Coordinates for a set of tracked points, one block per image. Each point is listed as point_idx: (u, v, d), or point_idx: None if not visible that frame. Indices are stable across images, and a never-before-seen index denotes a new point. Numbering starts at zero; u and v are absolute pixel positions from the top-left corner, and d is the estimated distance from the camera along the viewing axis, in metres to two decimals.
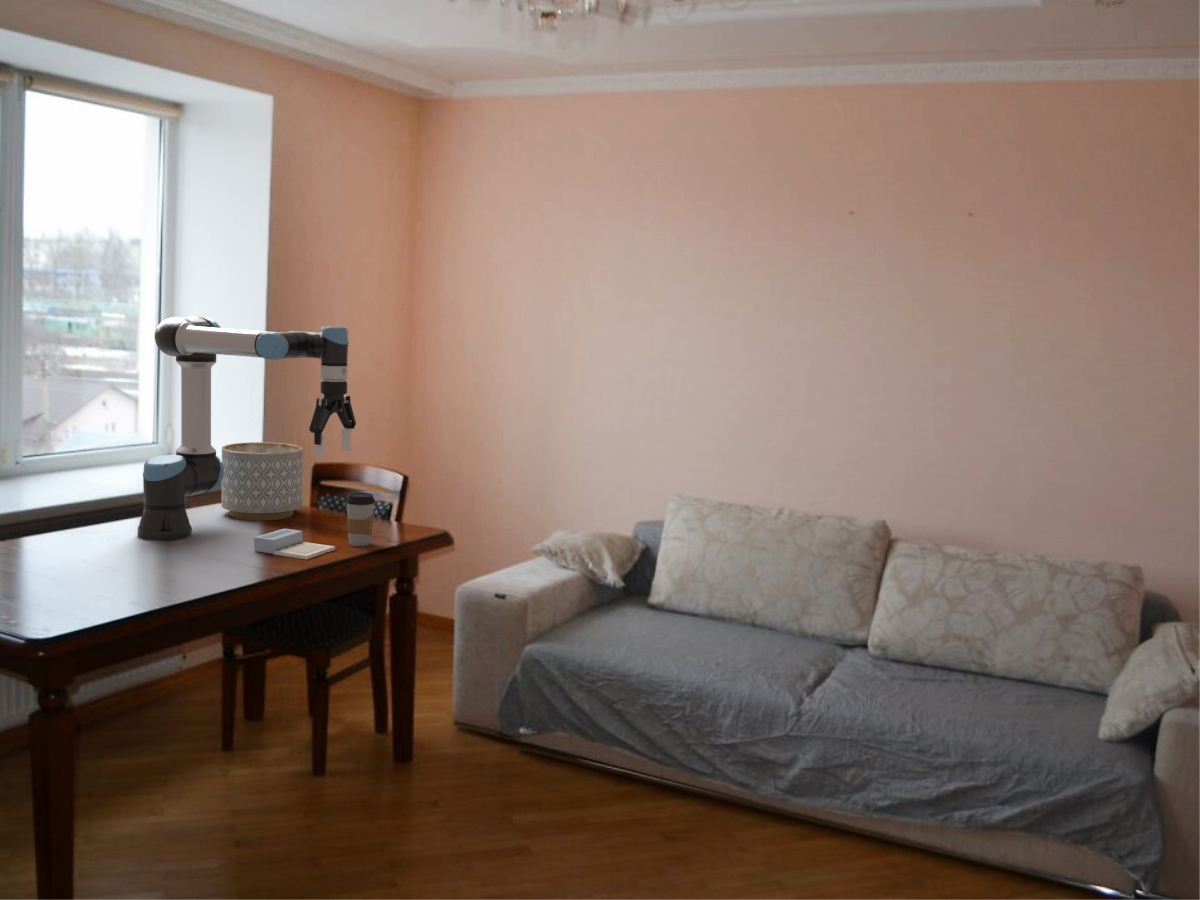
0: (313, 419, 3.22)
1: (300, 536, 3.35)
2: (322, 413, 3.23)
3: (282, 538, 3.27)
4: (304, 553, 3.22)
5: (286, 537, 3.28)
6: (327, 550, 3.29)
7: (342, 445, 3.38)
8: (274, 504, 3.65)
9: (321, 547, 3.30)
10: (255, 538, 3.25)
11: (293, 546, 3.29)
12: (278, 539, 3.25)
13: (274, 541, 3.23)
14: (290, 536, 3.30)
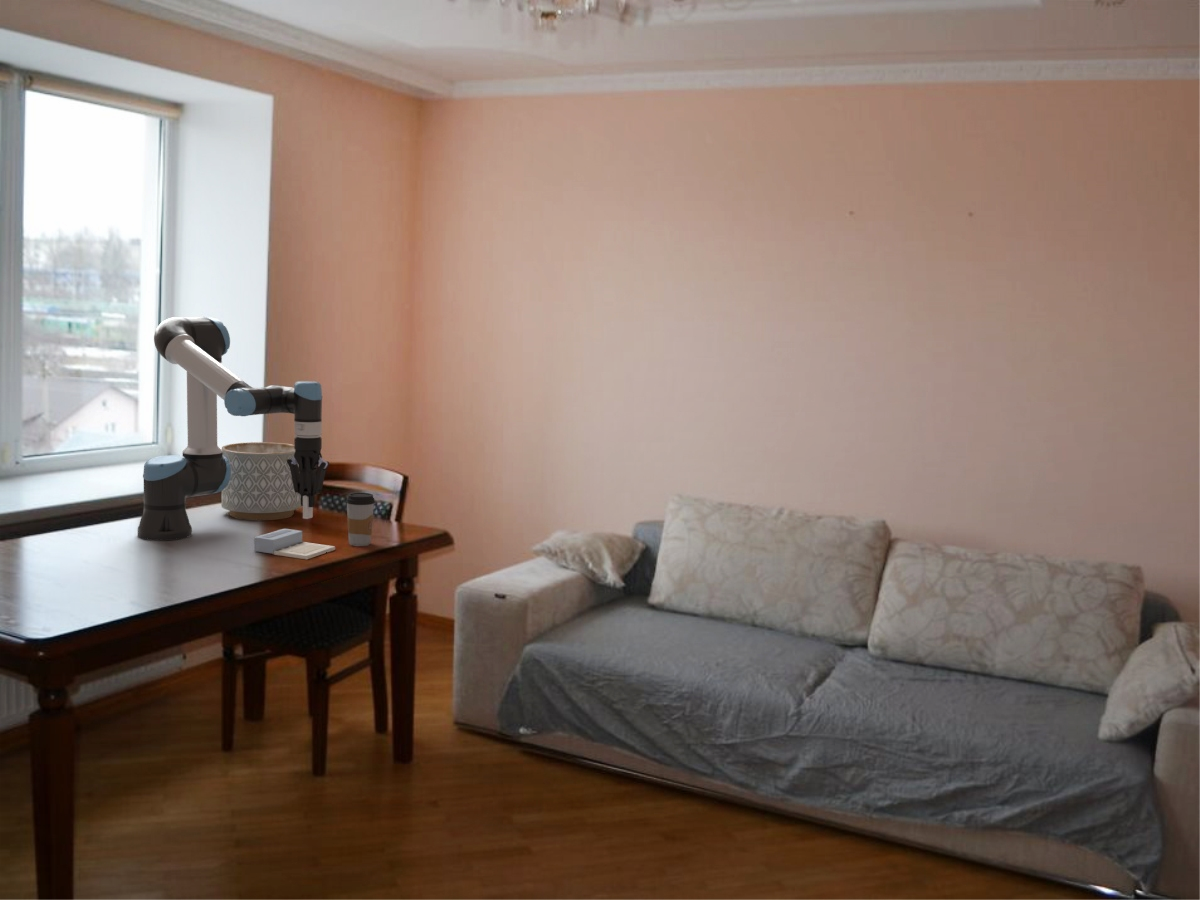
0: None
1: (300, 536, 3.35)
2: (292, 473, 3.25)
3: (282, 538, 3.27)
4: (304, 553, 3.22)
5: (286, 537, 3.28)
6: (327, 550, 3.29)
7: None
8: (274, 504, 3.65)
9: (321, 547, 3.30)
10: (255, 538, 3.25)
11: (293, 546, 3.29)
12: (278, 539, 3.25)
13: (274, 541, 3.23)
14: (290, 536, 3.30)
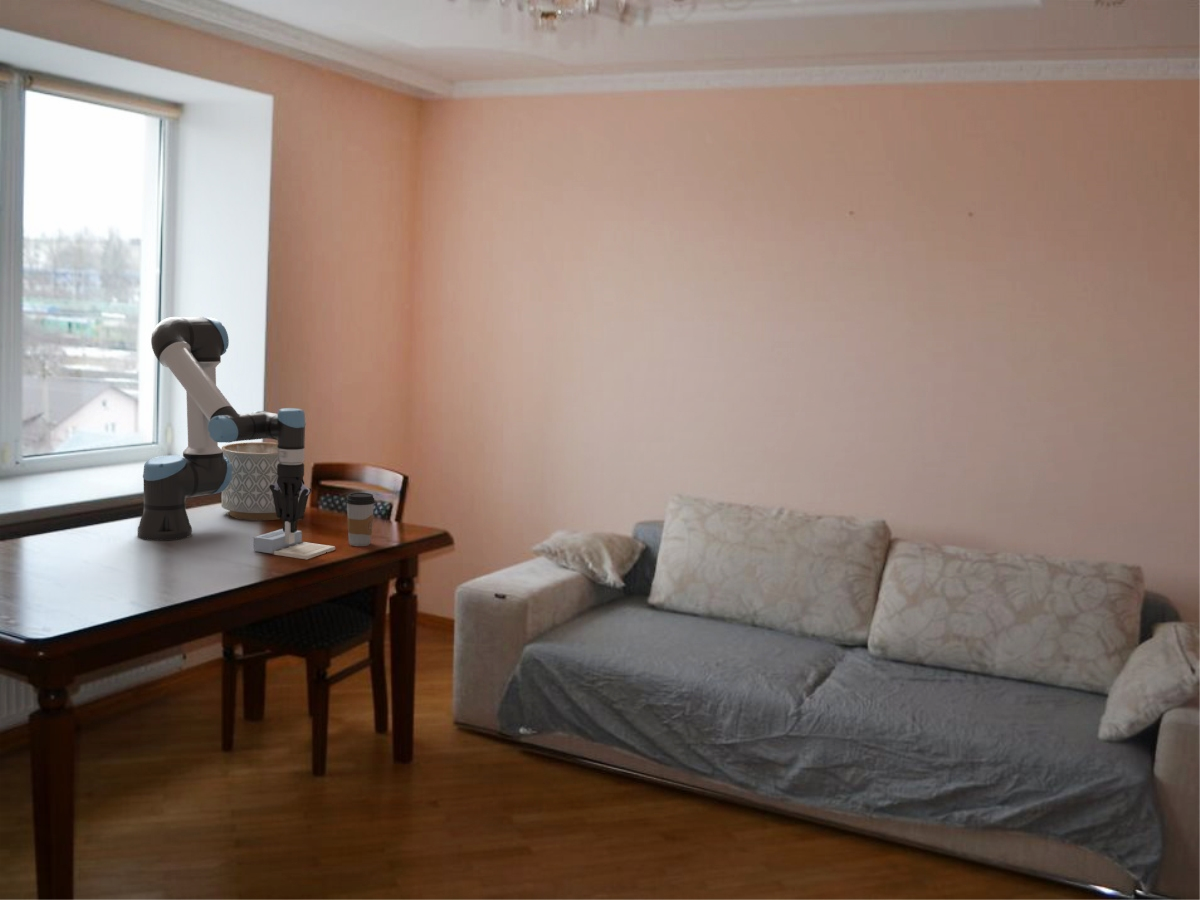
0: None
1: (299, 536, 3.35)
2: (275, 499, 3.28)
3: (281, 538, 3.27)
4: (304, 553, 3.22)
5: None
6: (327, 550, 3.29)
7: None
8: (274, 504, 3.65)
9: (321, 547, 3.30)
10: (255, 538, 3.25)
11: (293, 546, 3.29)
12: (277, 539, 3.25)
13: (273, 541, 3.23)
14: None
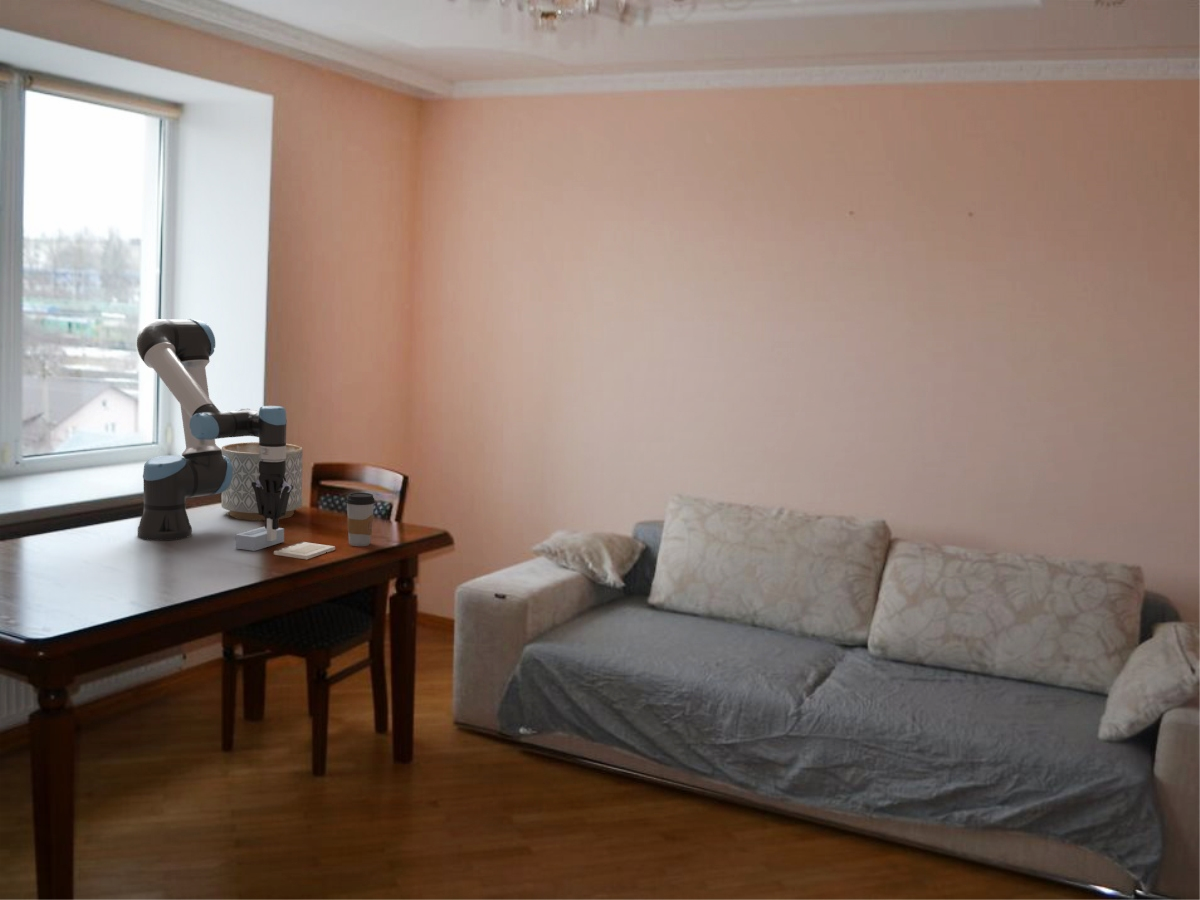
0: None
1: (282, 533, 3.37)
2: (257, 496, 3.30)
3: (263, 535, 3.29)
4: (304, 553, 3.22)
5: None
6: (327, 550, 3.29)
7: None
8: None
9: (321, 547, 3.30)
10: (237, 536, 3.27)
11: (293, 546, 3.29)
12: (259, 536, 3.27)
13: (255, 538, 3.25)
14: None
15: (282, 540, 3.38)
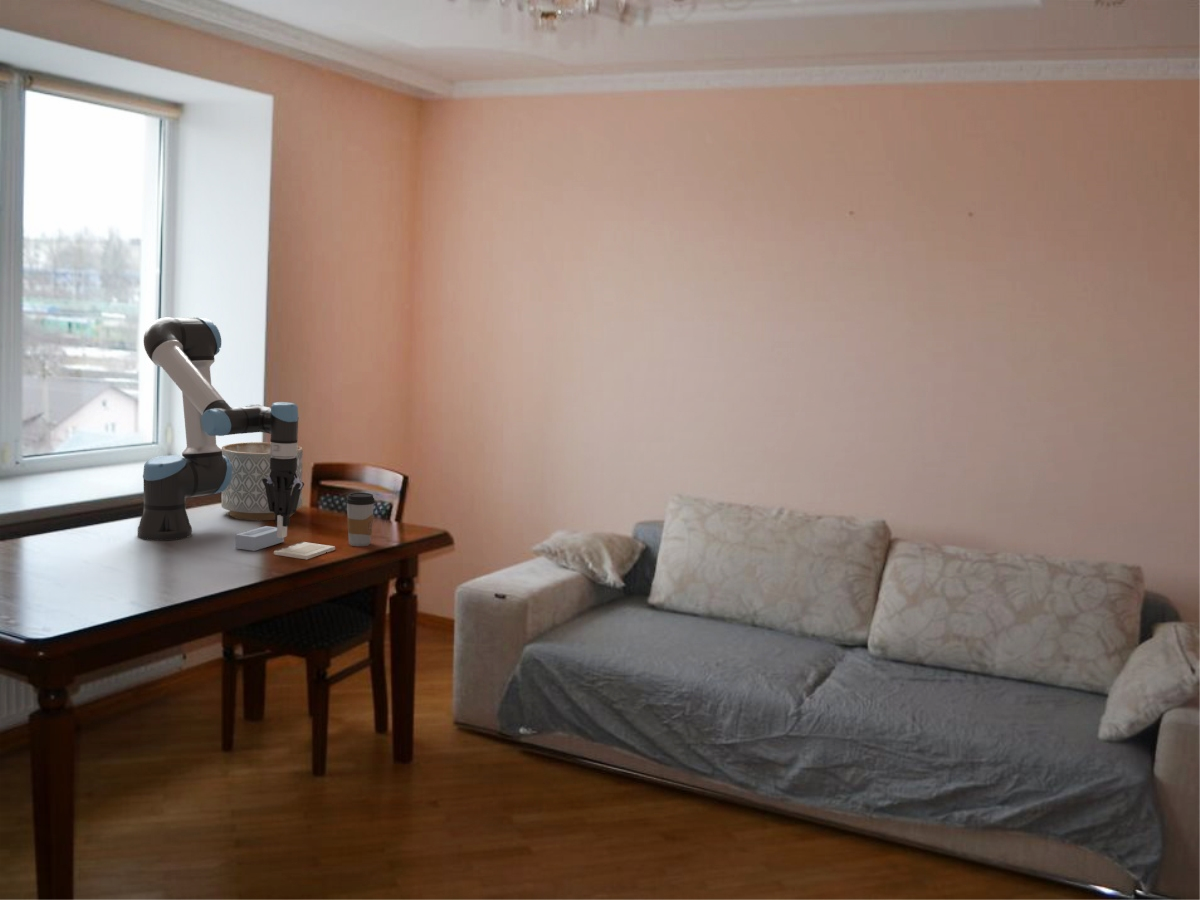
0: None
1: None
2: (267, 492, 3.28)
3: (263, 535, 3.29)
4: (304, 553, 3.22)
5: (267, 534, 3.31)
6: (327, 550, 3.29)
7: None
8: None
9: (321, 547, 3.30)
10: (237, 536, 3.27)
11: (293, 546, 3.29)
12: (259, 536, 3.27)
13: (255, 538, 3.25)
14: (271, 533, 3.32)
15: (282, 540, 3.38)
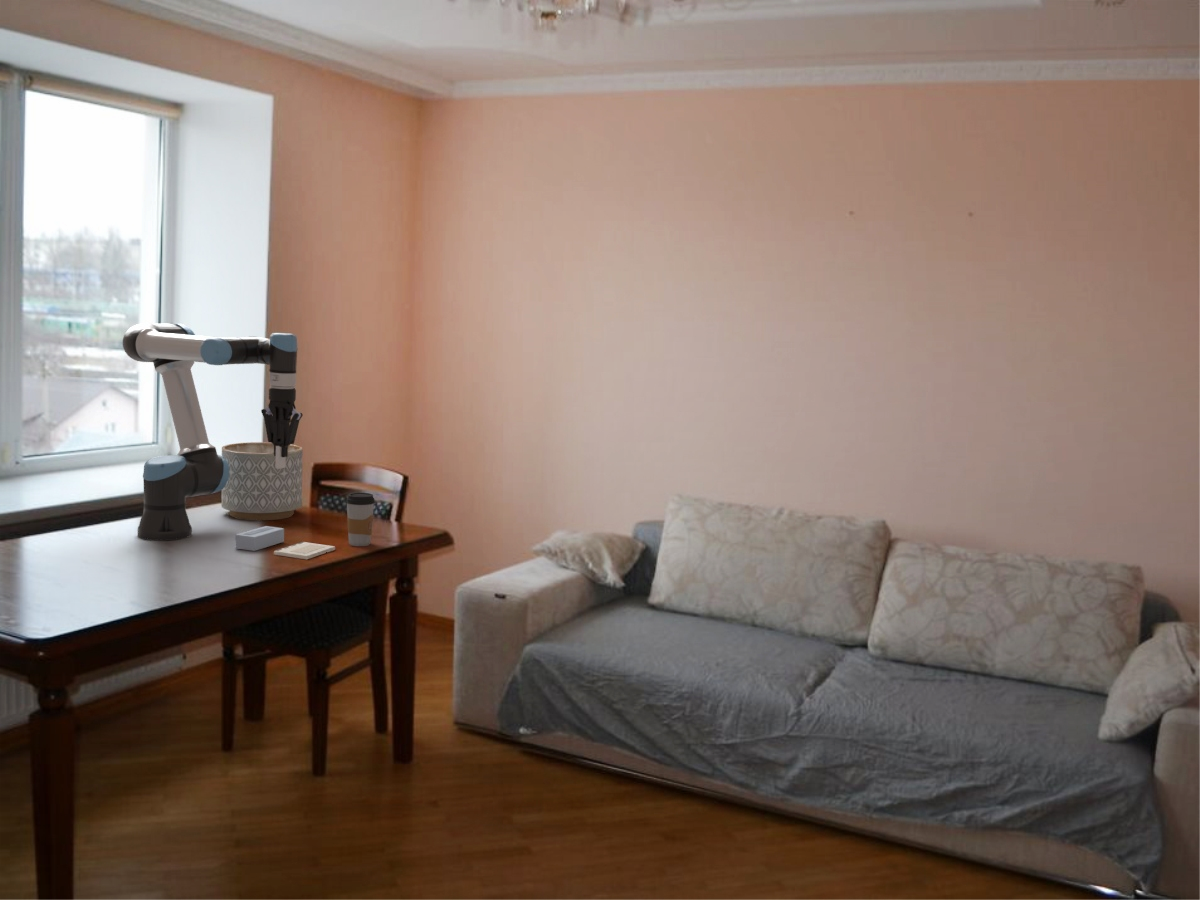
0: None
1: (282, 533, 3.37)
2: (266, 423, 3.30)
3: (263, 535, 3.29)
4: (304, 553, 3.22)
5: (267, 534, 3.31)
6: (327, 550, 3.29)
7: None
8: (274, 504, 3.65)
9: (321, 547, 3.30)
10: (237, 536, 3.27)
11: (293, 546, 3.29)
12: (259, 536, 3.27)
13: (255, 538, 3.25)
14: (271, 533, 3.32)
15: (282, 540, 3.38)
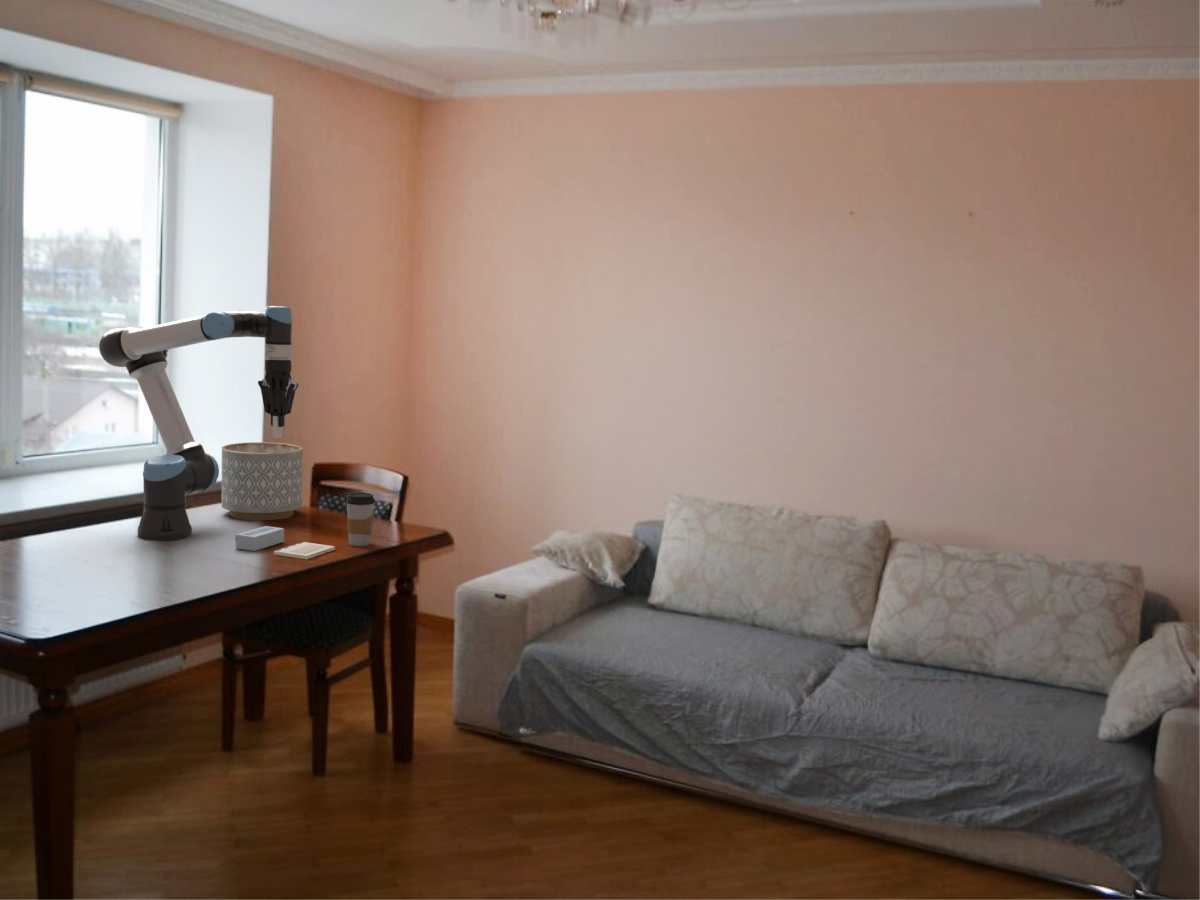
0: None
1: (282, 533, 3.37)
2: (263, 394, 3.39)
3: (263, 535, 3.29)
4: (304, 553, 3.22)
5: (267, 534, 3.31)
6: (327, 550, 3.29)
7: None
8: (274, 504, 3.65)
9: (321, 547, 3.30)
10: (237, 536, 3.27)
11: (293, 546, 3.29)
12: (259, 536, 3.27)
13: (255, 538, 3.25)
14: (271, 533, 3.32)
15: (282, 540, 3.38)
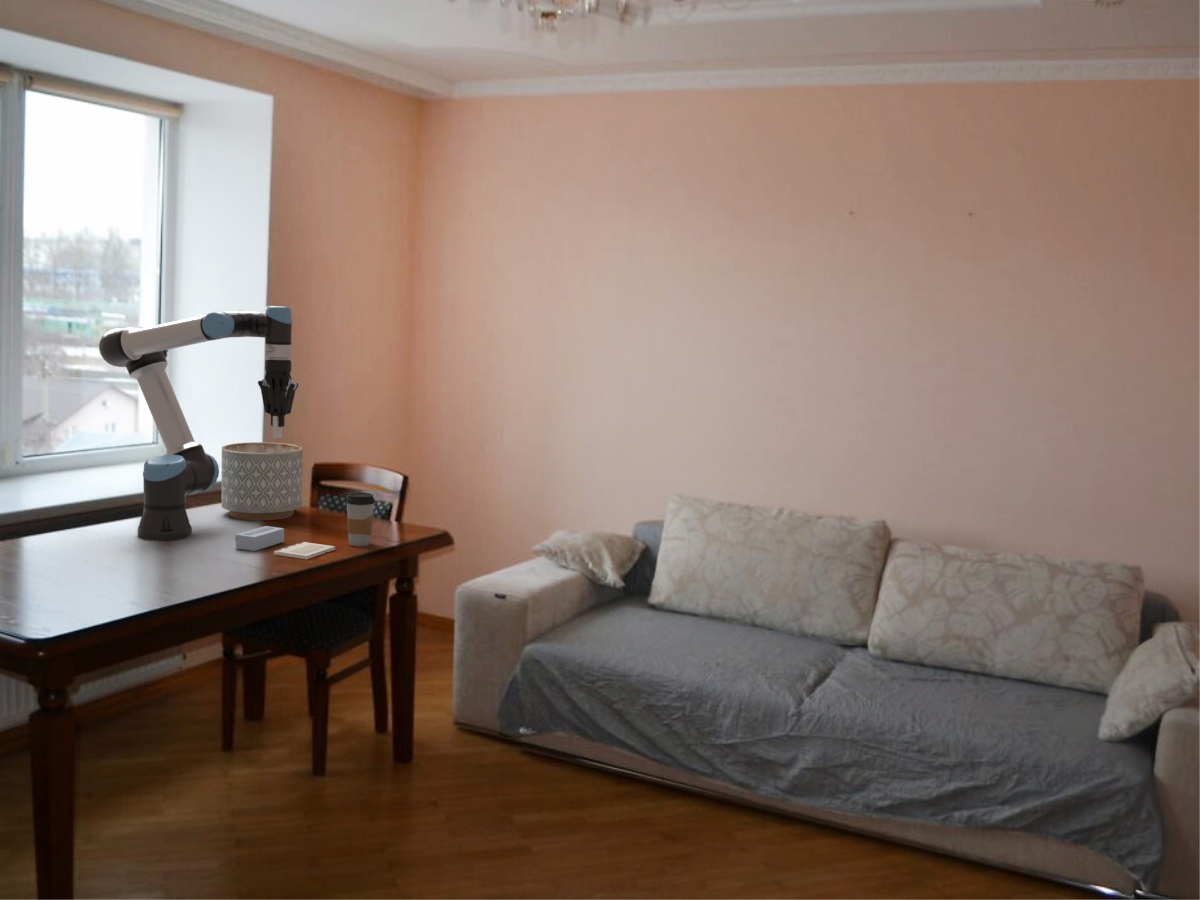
0: None
1: (282, 533, 3.37)
2: (263, 394, 3.39)
3: (263, 535, 3.29)
4: (304, 553, 3.22)
5: (267, 534, 3.31)
6: (327, 550, 3.29)
7: None
8: (274, 504, 3.65)
9: (321, 547, 3.30)
10: (237, 536, 3.27)
11: (293, 546, 3.29)
12: (259, 536, 3.27)
13: (255, 538, 3.25)
14: (271, 533, 3.32)
15: (282, 540, 3.38)
